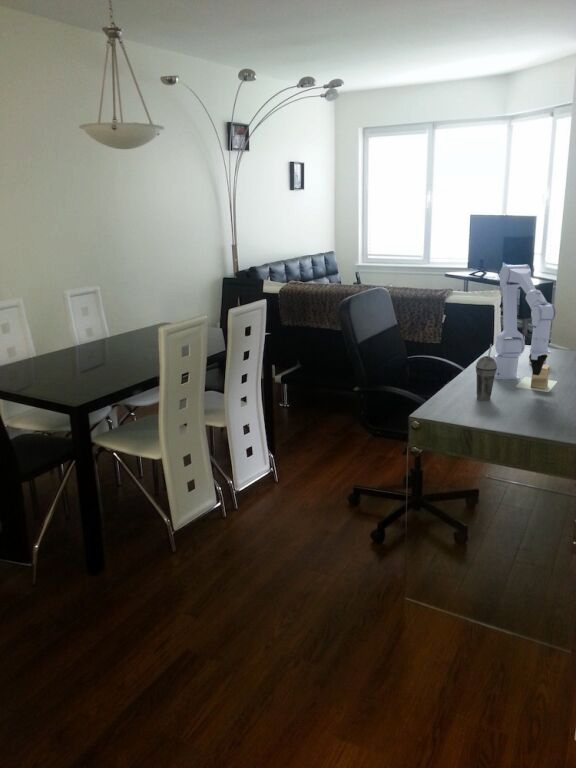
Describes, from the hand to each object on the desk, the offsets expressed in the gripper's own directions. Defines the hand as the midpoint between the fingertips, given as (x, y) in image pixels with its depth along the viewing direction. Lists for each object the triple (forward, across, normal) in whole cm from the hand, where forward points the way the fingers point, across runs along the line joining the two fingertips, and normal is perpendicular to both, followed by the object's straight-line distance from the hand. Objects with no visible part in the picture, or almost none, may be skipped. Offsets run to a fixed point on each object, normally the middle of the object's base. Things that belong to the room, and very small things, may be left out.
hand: (536, 374), depth 223 cm
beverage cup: (+7, -16, +14) cm, 23 cm away
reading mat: (+7, +11, +2) cm, 13 cm away
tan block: (+7, +8, 0) cm, 10 cm away
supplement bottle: (+7, +41, +8) cm, 43 cm away
